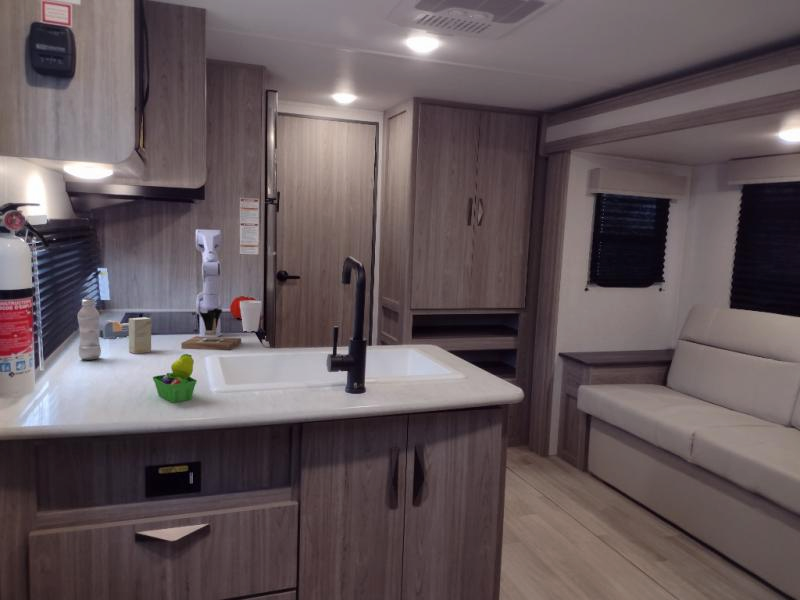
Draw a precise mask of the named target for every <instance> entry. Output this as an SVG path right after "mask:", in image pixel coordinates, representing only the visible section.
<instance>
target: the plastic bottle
mask: <svg viewBox="0 0 800 600" xmlns="http://www.w3.org/2000/svg"><path fill="white" fill-rule="evenodd" d="M95 301H96V300H95V298H82V299H81V306H82V307H81V308H80V310H79V311H78V313H77V316H76V317H77V322H78V328H79V347H78V351H77V352H78V357H79V358H80V359H81V360H88V361H91V360H96V359H100V357H101V354H102V348H101V345H100V338H99V336H98V327H99V322H100V317H101V316H100V312H99V311H98V309H97V308H96V307H95V305H96V303H95Z"/></svg>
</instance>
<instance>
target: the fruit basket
mask: <svg viewBox="0 0 800 600" xmlns="http://www.w3.org/2000/svg"><path fill="white" fill-rule="evenodd" d="M192 357H193V355H191V354H189V353H183V354H182V355H181V356H180V357H179V358H178V359H177V360H176V361H174V362H173V363H171V365H170V368H171V371H172V372H167V373H166V374H162V375H156V376H152V379H153V382H154V384H155V388H156V392H157V394H158V396H159V397H161V398H163V399H164V400H166V401H169V402H170V403H179V402H183V401H184V402H185V401H188V400H192V397H193V394H194V391H195V387H196V385H197V380H196V379H195V378H193V377H191V376H192V374H193V371H194V359H193V358H192Z"/></svg>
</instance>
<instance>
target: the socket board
mask: <svg viewBox="0 0 800 600" xmlns="http://www.w3.org/2000/svg"><path fill="white" fill-rule="evenodd" d="M241 344H242V338H241V337H223V336H220V337H219V336H218V337H201V336H198V335H196V336H193V337H191V338H188V339H187V340H185V341H183V342H181V347H180V348H181V349H186V350H187V349H188V350H189V349H190V350H192V349H193V350H213V351H216V350H217V351H231V350H233V349H234V348H236V347H238V346H239V345H241Z"/></svg>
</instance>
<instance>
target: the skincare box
mask: <svg viewBox="0 0 800 600" xmlns="http://www.w3.org/2000/svg"><path fill="white" fill-rule="evenodd" d="M128 323H129V327H128V328H129V337H128V352H129V353H131V354H135V355H137V354H144V353H145V354H146V353H151V352H152V326H151V324H152V318H151V317H146V316H145V317H144V316H143V317H133V318H131V317H129V318H128Z"/></svg>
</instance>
